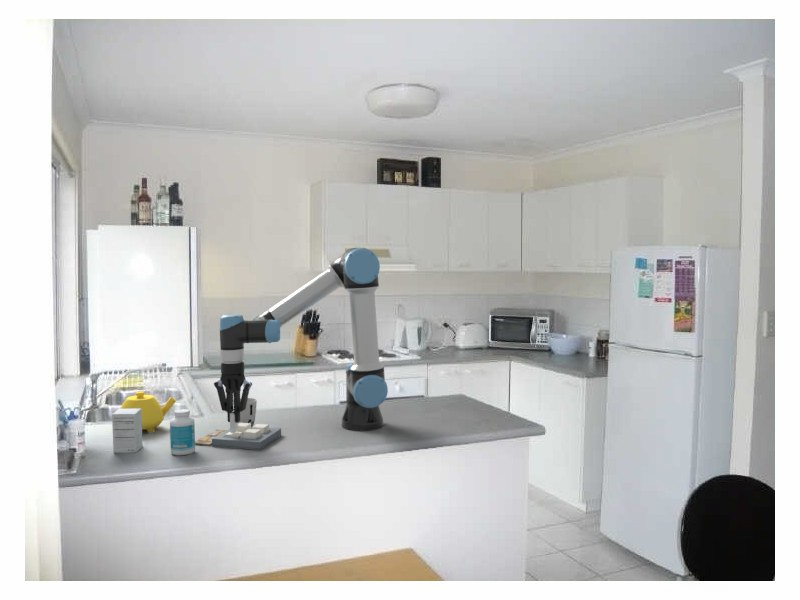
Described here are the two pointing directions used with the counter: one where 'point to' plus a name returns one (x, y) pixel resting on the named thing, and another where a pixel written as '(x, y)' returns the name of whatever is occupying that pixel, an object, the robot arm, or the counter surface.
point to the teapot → (148, 409)
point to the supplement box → (127, 430)
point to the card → (208, 438)
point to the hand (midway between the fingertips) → (234, 431)
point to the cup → (248, 412)
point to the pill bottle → (182, 433)
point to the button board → (246, 440)
